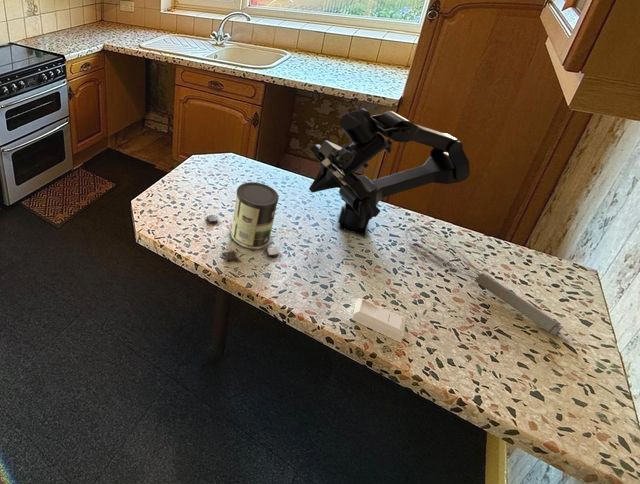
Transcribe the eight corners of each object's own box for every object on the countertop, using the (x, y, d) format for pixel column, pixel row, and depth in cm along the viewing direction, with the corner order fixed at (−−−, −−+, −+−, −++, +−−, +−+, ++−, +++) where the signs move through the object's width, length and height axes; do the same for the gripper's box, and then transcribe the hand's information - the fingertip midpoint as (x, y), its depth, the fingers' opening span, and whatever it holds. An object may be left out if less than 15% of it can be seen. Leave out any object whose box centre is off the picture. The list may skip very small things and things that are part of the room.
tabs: (251, 214, 116) (251, 212, 116) (278, 256, 101) (278, 254, 101) (206, 218, 115) (207, 215, 114) (227, 261, 100) (227, 259, 99)
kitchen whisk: (563, 350, 79) (579, 329, 76) (396, 242, 106) (403, 224, 103) (577, 338, 81) (593, 317, 79) (410, 236, 109) (418, 217, 106)
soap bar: (400, 342, 80) (404, 334, 79) (351, 319, 85) (354, 311, 84) (402, 325, 84) (406, 316, 83) (355, 303, 89) (358, 295, 87)
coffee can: (267, 226, 112) (276, 184, 105) (271, 252, 103) (281, 208, 96) (230, 220, 114) (236, 179, 107) (230, 245, 105) (237, 202, 98)
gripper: (323, 116, 105) (277, 155, 109) (371, 152, 89) (314, 196, 92) (343, 141, 110) (298, 177, 113) (392, 179, 93) (337, 220, 97)
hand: (310, 190), depth 104 cm, fingers closed
